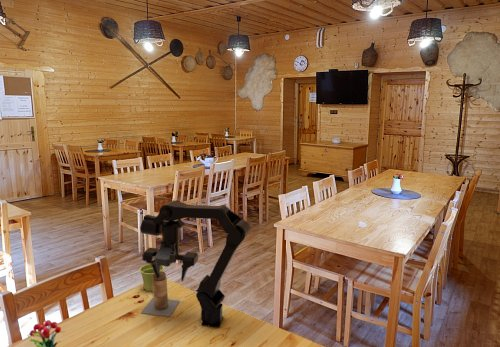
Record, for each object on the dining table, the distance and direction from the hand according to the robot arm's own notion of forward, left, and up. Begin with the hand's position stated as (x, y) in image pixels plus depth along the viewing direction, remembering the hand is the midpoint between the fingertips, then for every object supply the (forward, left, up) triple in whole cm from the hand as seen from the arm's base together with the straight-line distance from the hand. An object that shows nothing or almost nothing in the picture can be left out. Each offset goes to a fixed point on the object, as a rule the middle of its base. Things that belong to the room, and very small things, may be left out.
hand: (170, 279), depth 136 cm
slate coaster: (+5, -3, -13) cm, 14 cm away
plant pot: (+14, -16, -14) cm, 25 cm away
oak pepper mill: (+5, -3, -13) cm, 14 cm away
